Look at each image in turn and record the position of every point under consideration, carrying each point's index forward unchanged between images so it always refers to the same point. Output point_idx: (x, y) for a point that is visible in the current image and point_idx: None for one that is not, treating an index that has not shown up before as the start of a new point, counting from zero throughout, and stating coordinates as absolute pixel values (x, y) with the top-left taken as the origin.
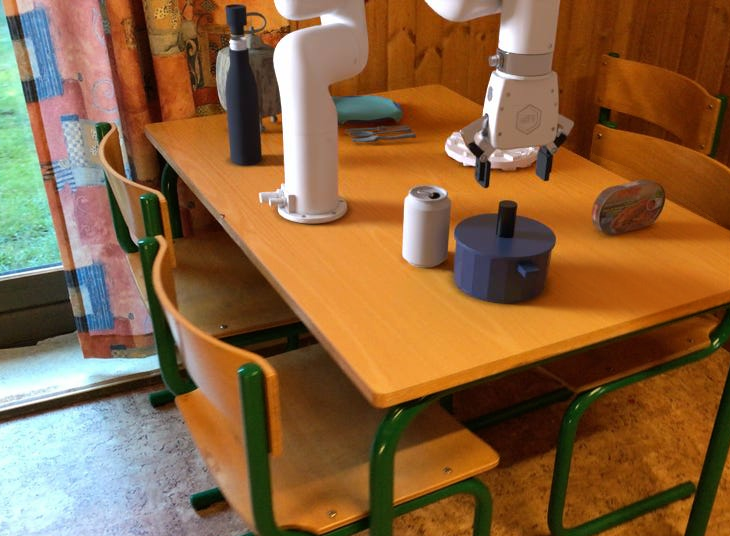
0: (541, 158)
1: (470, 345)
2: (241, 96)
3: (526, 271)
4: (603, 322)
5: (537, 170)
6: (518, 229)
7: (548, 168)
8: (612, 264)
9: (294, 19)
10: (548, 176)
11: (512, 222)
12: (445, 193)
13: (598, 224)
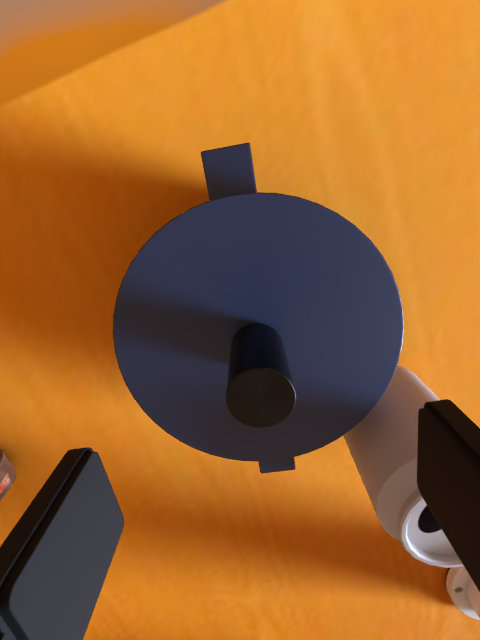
0: (62, 602)
1: (412, 9)
2: None
3: (246, 145)
4: (68, 89)
5: (110, 532)
6: (210, 369)
7: (40, 506)
8: (6, 343)
9: None
10: (62, 465)
11: (246, 344)
12: (410, 517)
13: (3, 464)
